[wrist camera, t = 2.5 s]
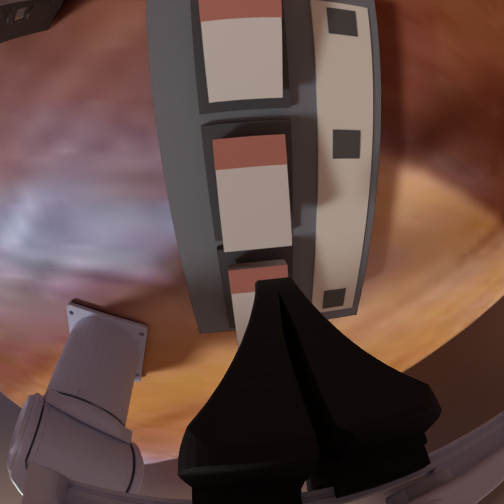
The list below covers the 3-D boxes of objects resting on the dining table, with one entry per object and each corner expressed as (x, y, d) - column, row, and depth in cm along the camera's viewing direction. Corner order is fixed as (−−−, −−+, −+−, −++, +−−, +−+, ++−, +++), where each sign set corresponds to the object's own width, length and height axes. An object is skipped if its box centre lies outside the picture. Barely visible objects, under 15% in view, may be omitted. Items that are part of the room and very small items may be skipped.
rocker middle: (287, 238, 15) (292, 245, 14) (224, 244, 15) (223, 252, 14) (279, 137, 14) (284, 134, 12) (214, 142, 13) (212, 139, 12)
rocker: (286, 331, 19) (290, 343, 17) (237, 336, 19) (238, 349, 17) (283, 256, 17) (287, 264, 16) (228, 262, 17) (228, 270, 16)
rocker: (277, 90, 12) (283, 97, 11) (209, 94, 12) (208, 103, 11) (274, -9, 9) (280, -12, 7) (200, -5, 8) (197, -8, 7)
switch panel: (344, 290, 24) (358, 318, 21) (201, 306, 23) (199, 338, 20) (353, 7, 12) (377, -6, 9) (158, 11, 12) (143, -5, 9)
